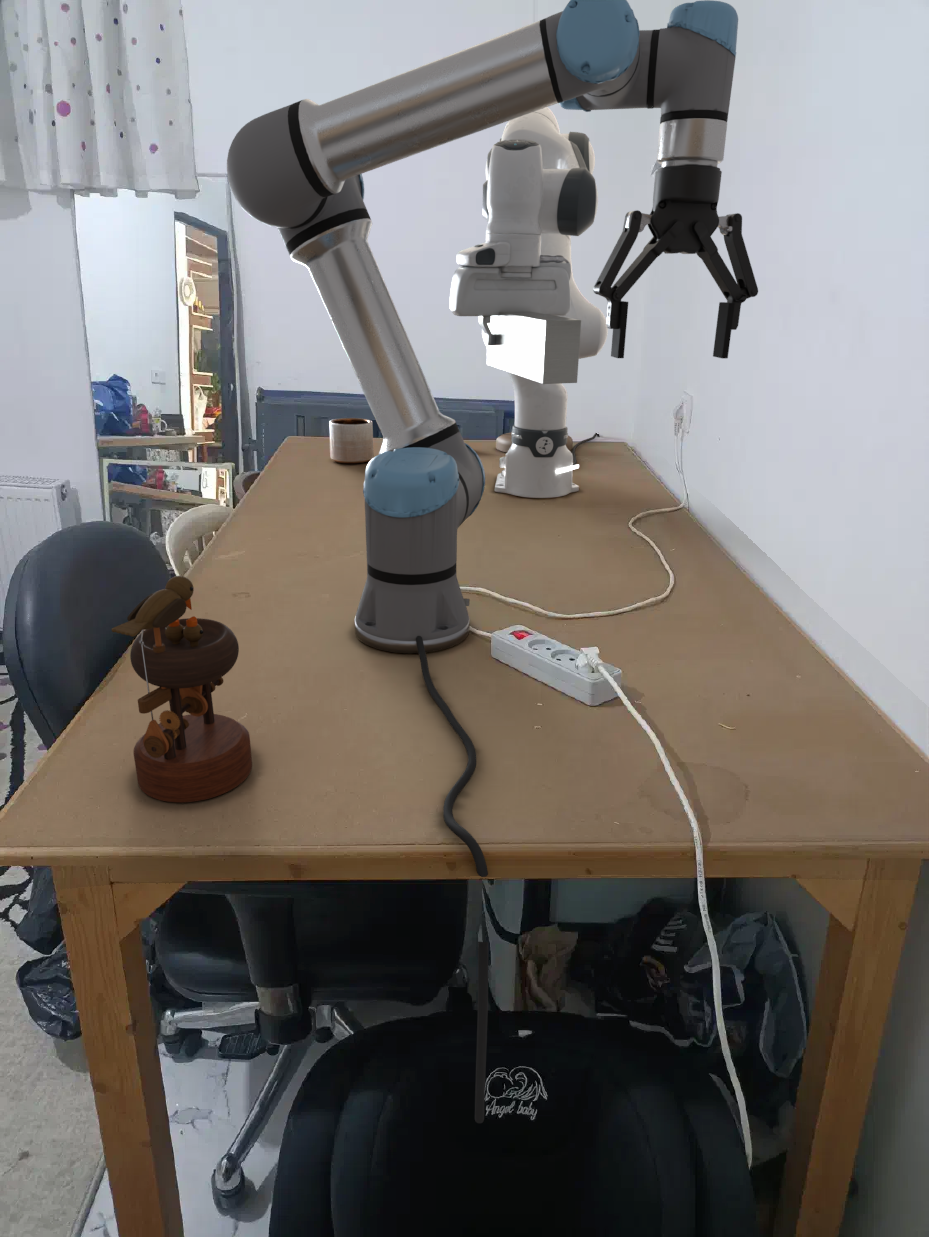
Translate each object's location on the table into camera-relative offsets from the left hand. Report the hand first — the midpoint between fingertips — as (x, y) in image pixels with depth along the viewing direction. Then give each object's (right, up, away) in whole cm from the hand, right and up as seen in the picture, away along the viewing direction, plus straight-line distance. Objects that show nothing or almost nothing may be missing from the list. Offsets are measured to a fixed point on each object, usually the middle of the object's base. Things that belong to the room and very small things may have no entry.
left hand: (669, 357), depth 106 cm
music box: (-51, -47, -25) cm, 74 cm away
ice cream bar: (-6, +11, +119) cm, 120 cm away
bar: (-15, +6, +29) cm, 33 cm away
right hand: (-18, +13, +35) cm, 41 cm away
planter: (-54, +7, +108) cm, 121 cm away
